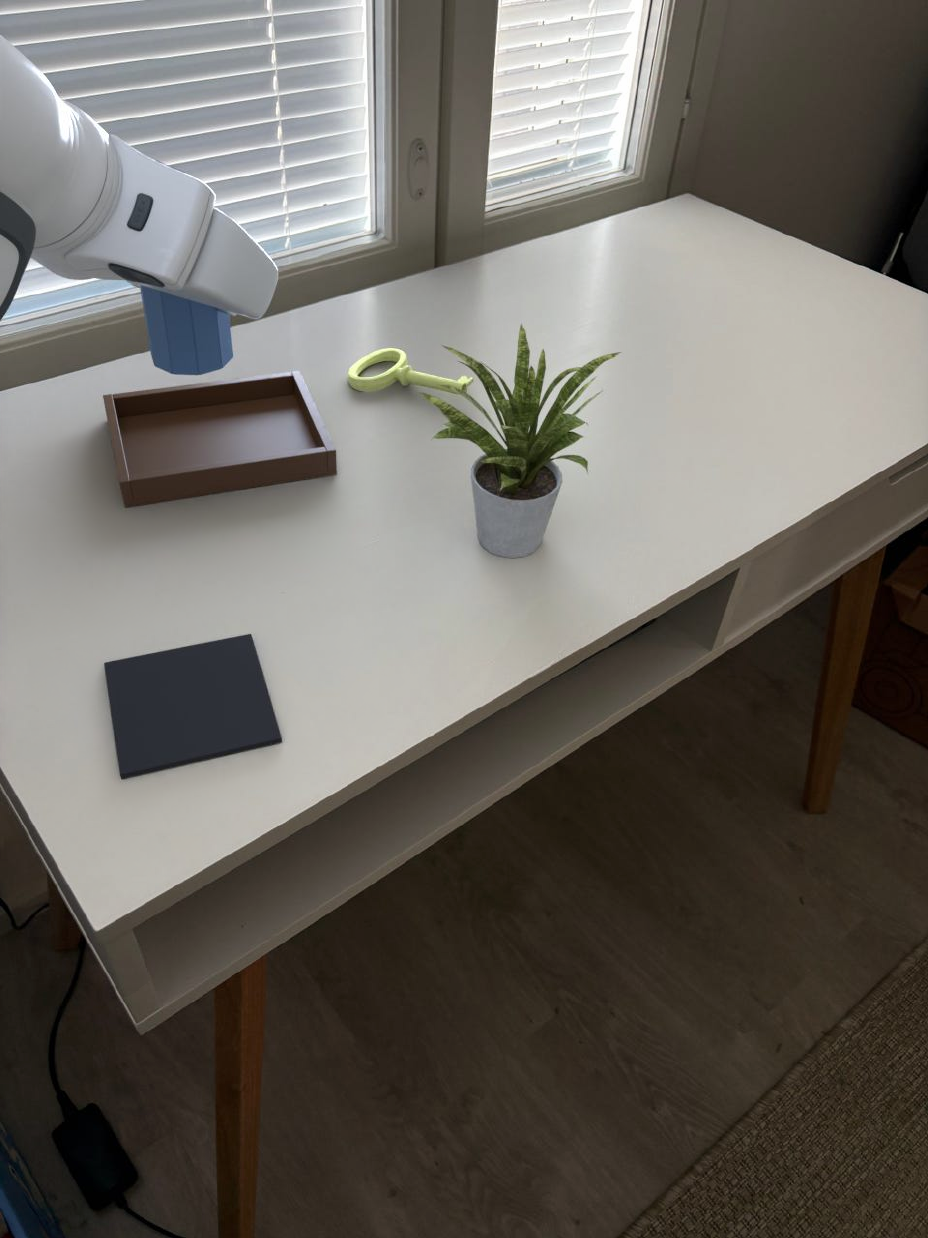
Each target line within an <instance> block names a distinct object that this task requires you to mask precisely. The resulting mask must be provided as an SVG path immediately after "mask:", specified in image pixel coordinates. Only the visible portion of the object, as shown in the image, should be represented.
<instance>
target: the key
mask: <svg viewBox="0 0 928 1238" xmlns="http://www.w3.org/2000/svg"><path fill="white" fill-rule="evenodd" d="M381 362H395V363H396V364H395V365H394V364H393V366H392V367H390V368H389V369H388V370H386V371H384V372H383V373H380V374H377V375H375V376H370V377H364V376H363V377H362V376H359V375H360V373H362V372H363V371H364V370H365V369H366V368H369V366H372V365H375V364H377V363H381ZM347 381H348V383H349V385H350V386H351V388H353V389H354V390H356V391H360V392H374V391H378V390H382V389H385V388H387V387H389V386H391V385H392V384H394V383H395V382H397V381H399V383H400V385H402V386H403V387H408V386H409V385H410V384H413V385H416V386H421V387H424V388H429V389H434V390H438V391H442V392H446V393H450V394H455V395H459V396H461V395H460V394H459V393H457V392H455V391H453V390H451V389H448V388H446V387H443V386H441V385H450V386H453V387H456V388H458V389H460V390H462V391H464V392H466V393H467V390H468V387H470V385H472V384H473V383H474V377H471V376H470V377H468V376H466V375H462V376H461V377H460V378H458V380H454V379H450V378H445V377H442V376H438V375H433V374H428V373H425V372H419V371H415V370H413V368H412V366H411V365H408V357H407V354H406V352H404V350H402V349H398V348H394V347H393V348H392V347H391V348H382V349H379V350H376V351H373V352H371V353H369V354H366V355H365V356H362V357H361V358H360V359H359V360H357V361H356V362H354V363H353V365H351V366H350V368H349V369H348V373H347ZM438 384H439V385H438Z"/></svg>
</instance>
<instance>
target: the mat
mask: <svg viewBox="0 0 928 1238" xmlns="http://www.w3.org/2000/svg"><path fill="white" fill-rule="evenodd" d="M103 667H104V672H105V673H104V674H105V680H106V681H105V682H106V689H107V695H108V701H109V708H110V709H109V710H110V716H111V723H112V730H113V736H114V744H115V750H116V758H117V765H118V770H119V771H118V772H119V773H118V774H119V776H120V779H121V780H124V779H125V780H126V779H129V778H134V777H137V776H142V775H146V774H151V773H155V772H159V771H164V770H168V769H173V768H178V767H181V766H185V765H190V764H194V763H199V762H203V761H208V760H211V759H215V758H220V757H224V756H225V757H226V756H229V755H233V754H238V753H242V752H247V751H252V750H256V749H259V748H263V747H268V746H269V747H270V746H272V745H277V744H282V743H283V739H282V738H283V737H282V735H281V731H280V728H279V724H278V720H277V717H276V713H275V710H274V707H273V703H272V701H271V697H270V693H269V690H268V686H267V683H266V680H265V676H264V672H263V668H262V666H261V663H260V659H259V655H258V652H257V649H256V645H255V641H254V639H253V635H252V633H245V634H242V635H236V636H231V637H226V638H222V639H216V640H211V641H207V642H202V643H197V644H191V645H186V646H181V647H175V648H170V649H165V650H161V651H155V652H151V653H146V654H140V655H135V656H130V657H126V658H120V659H115V660H111V661H110V660H109V661H105V662H103Z"/></svg>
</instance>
